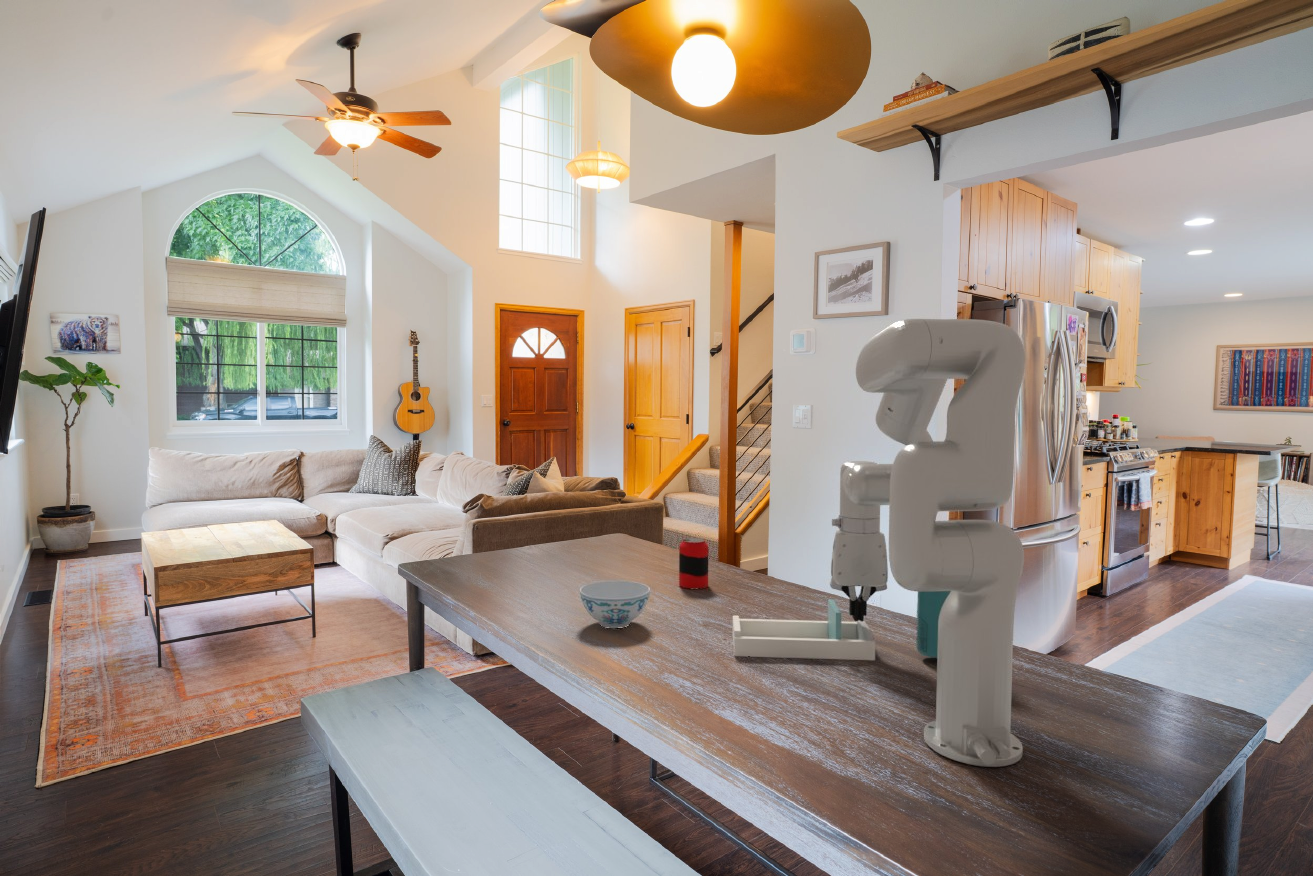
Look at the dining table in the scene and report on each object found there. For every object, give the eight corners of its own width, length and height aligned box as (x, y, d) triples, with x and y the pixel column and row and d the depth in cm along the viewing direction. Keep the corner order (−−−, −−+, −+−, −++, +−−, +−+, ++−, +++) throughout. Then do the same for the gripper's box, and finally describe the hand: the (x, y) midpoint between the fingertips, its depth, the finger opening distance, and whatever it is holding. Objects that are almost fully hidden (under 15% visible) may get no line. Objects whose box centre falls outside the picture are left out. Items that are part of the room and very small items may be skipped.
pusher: (840, 652, 135) (841, 612, 135) (835, 652, 135) (835, 612, 135) (832, 636, 144) (833, 599, 144) (827, 636, 145) (828, 599, 144)
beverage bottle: (956, 667, 130) (959, 558, 129) (917, 664, 131) (920, 556, 130) (949, 655, 136) (951, 550, 135) (912, 652, 138) (914, 549, 137)
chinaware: (568, 631, 149) (568, 595, 149) (595, 611, 164) (595, 578, 163) (636, 639, 145) (636, 601, 145) (658, 617, 159) (658, 583, 159)
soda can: (679, 582, 191) (679, 537, 190) (707, 582, 191) (708, 537, 190) (679, 589, 183) (679, 543, 183) (708, 590, 183) (709, 543, 182)
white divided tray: (875, 660, 133) (875, 637, 133) (734, 656, 135) (734, 633, 135) (861, 638, 146) (861, 617, 145) (732, 634, 148) (732, 613, 147)
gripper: (823, 528, 135) (821, 624, 136) (904, 529, 134) (902, 626, 135) (817, 521, 143) (815, 612, 144) (894, 522, 142) (892, 614, 143)
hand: (857, 619), depth 139 cm, fingers closed
